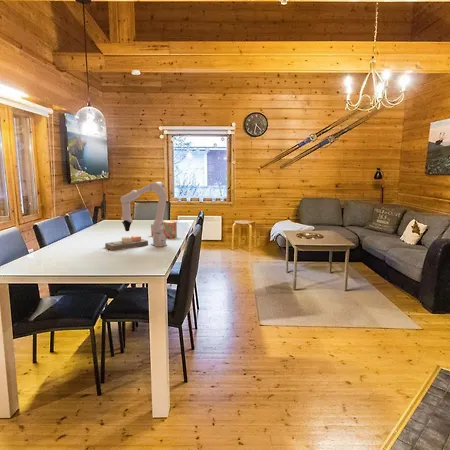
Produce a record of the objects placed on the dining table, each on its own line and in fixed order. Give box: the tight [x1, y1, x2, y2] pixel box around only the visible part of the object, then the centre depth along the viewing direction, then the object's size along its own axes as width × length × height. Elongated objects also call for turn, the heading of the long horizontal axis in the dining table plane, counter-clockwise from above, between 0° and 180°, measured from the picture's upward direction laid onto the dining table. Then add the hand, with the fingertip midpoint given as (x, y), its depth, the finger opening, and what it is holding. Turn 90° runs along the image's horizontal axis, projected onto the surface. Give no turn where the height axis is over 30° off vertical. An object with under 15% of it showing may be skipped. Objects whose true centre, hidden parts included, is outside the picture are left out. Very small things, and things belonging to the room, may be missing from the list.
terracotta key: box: [130, 235, 142, 242], centre depth 248 cm, size 5×5×3 cm
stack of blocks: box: [150, 220, 178, 239], centre depth 279 cm, size 21×6×12 cm, turn 60°
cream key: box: [121, 236, 132, 243], centre depth 244 cm, size 5×5×3 cm
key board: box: [104, 238, 149, 251], centre depth 244 cm, size 12×26×3 cm, turn 129°
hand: (127, 231), depth 251 cm, fingers closed
